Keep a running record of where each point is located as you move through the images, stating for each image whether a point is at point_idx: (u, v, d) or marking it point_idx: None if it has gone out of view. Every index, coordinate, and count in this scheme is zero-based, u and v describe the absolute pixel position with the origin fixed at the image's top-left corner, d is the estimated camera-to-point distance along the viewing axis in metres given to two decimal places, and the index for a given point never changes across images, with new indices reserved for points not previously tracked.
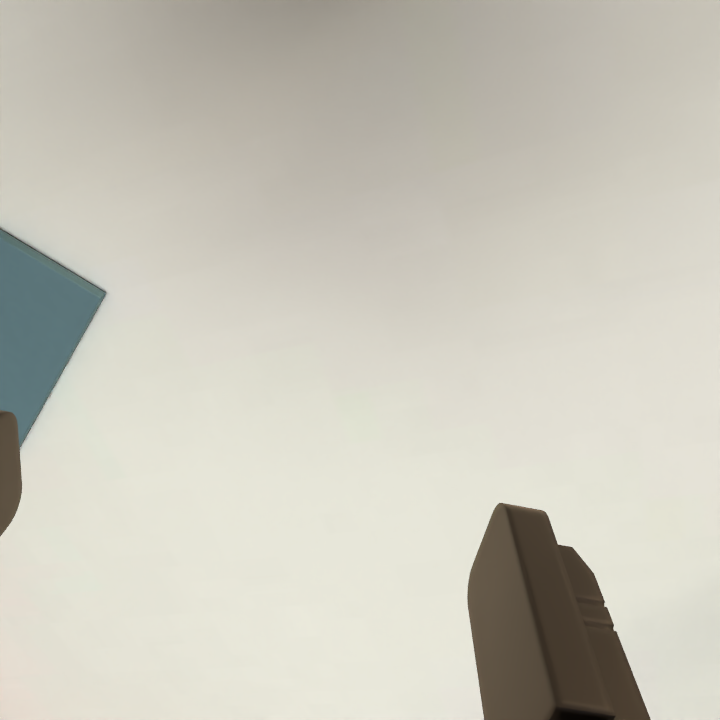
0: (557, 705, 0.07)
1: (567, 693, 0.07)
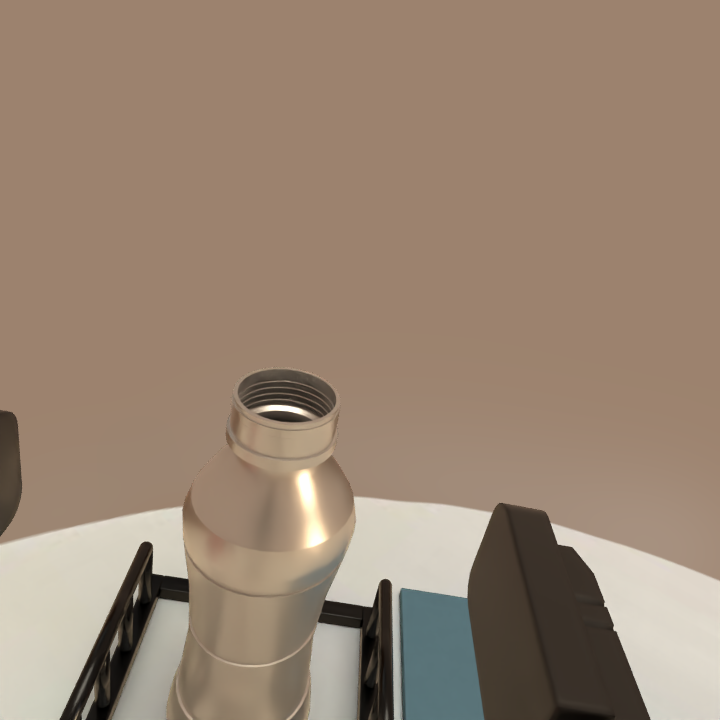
0: (557, 704, 0.07)
1: (567, 692, 0.07)
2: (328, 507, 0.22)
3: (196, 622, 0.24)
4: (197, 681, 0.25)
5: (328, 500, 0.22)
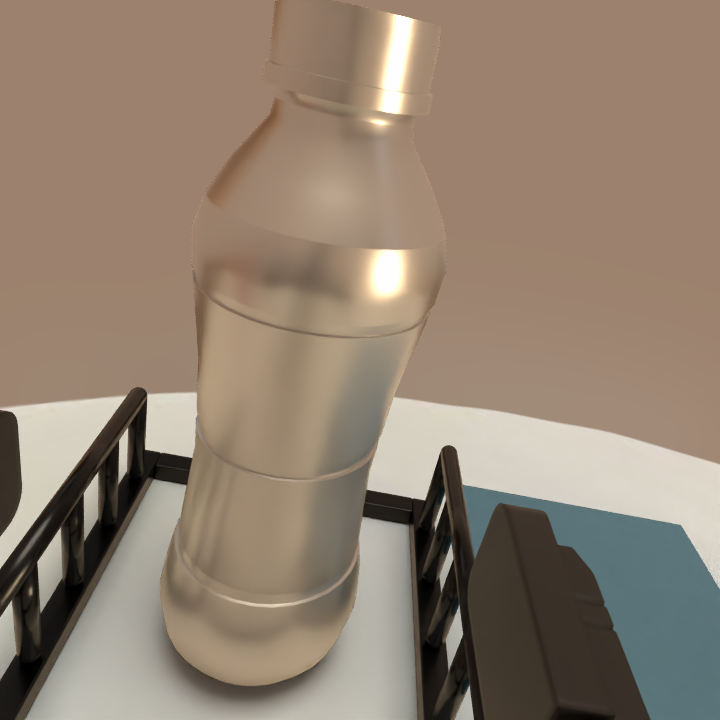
0: (557, 705, 0.07)
1: (567, 693, 0.07)
2: (417, 202, 0.14)
3: (208, 414, 0.16)
4: (205, 516, 0.17)
5: (417, 192, 0.14)
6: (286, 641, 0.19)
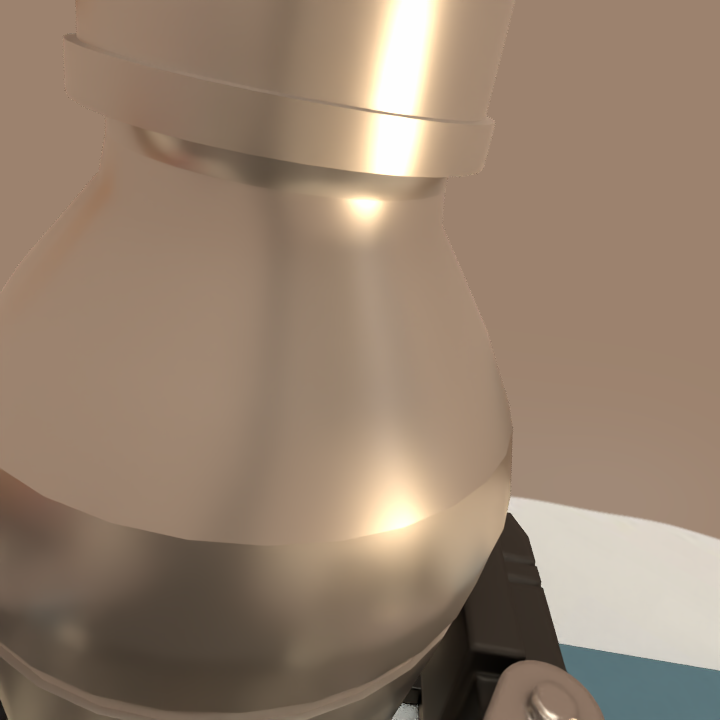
0: (472, 647, 0.07)
1: (482, 637, 0.07)
2: (460, 382, 0.06)
3: None
4: None
5: (459, 355, 0.06)
6: None
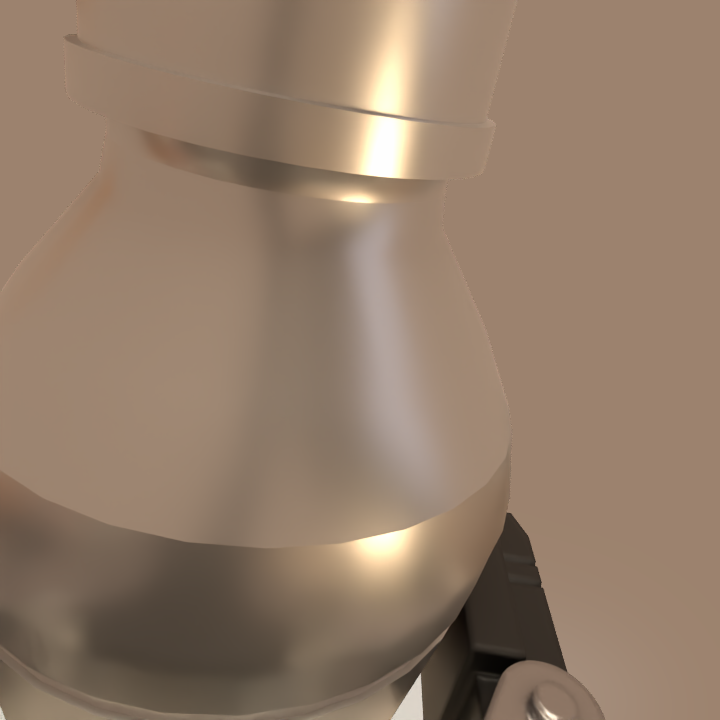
0: (472, 648, 0.07)
1: (483, 637, 0.07)
2: (459, 385, 0.06)
3: None
4: None
5: (458, 358, 0.06)
6: None
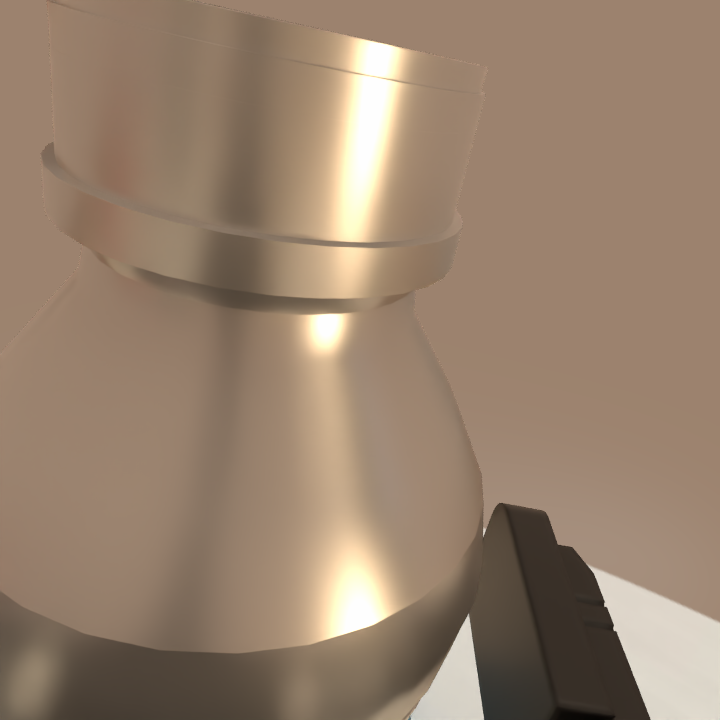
0: (557, 705, 0.07)
1: (567, 693, 0.07)
2: (428, 475, 0.06)
3: None
4: None
5: (428, 449, 0.06)
6: None
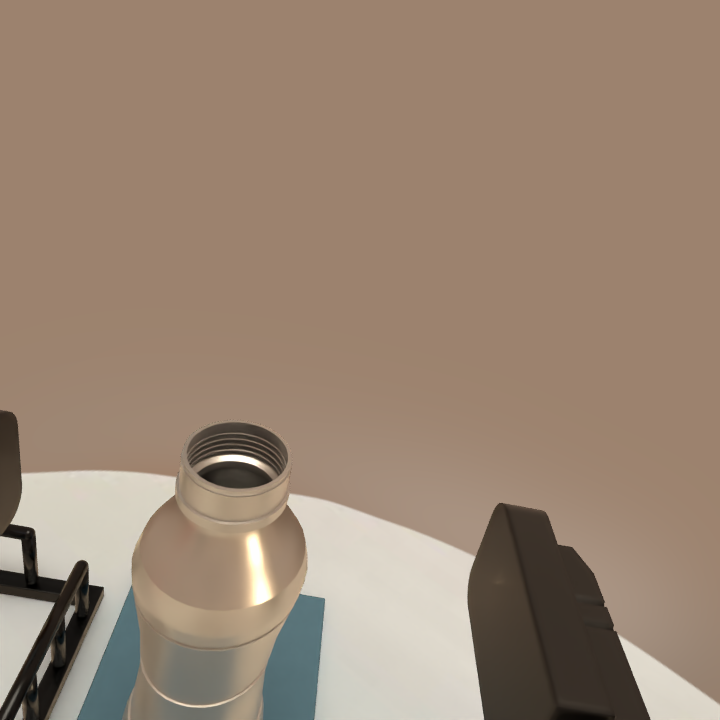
0: (557, 705, 0.07)
1: (567, 693, 0.07)
2: (278, 563, 0.22)
3: (146, 663, 0.24)
4: (147, 716, 0.26)
5: (278, 556, 0.22)
6: None
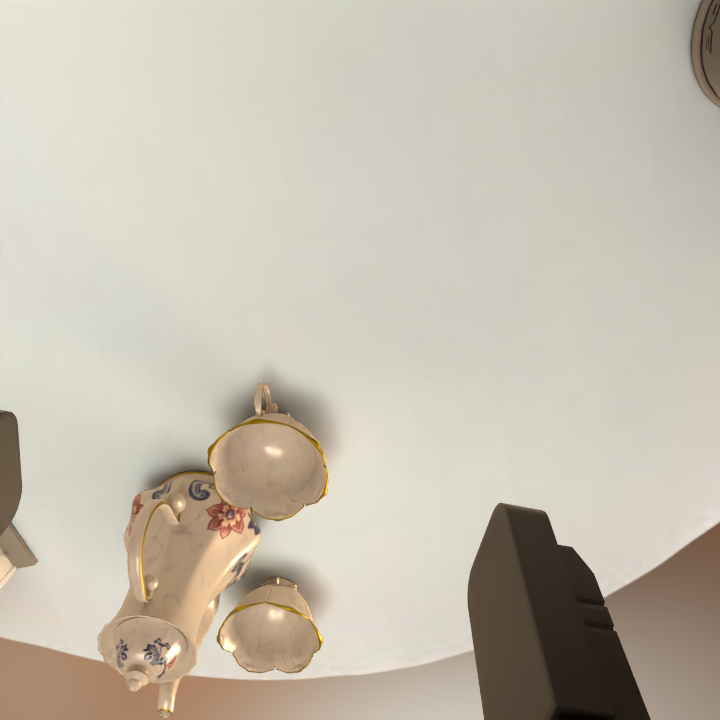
0: (557, 705, 0.07)
1: (567, 693, 0.07)
2: None
3: None
4: None
5: None
6: None
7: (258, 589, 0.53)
